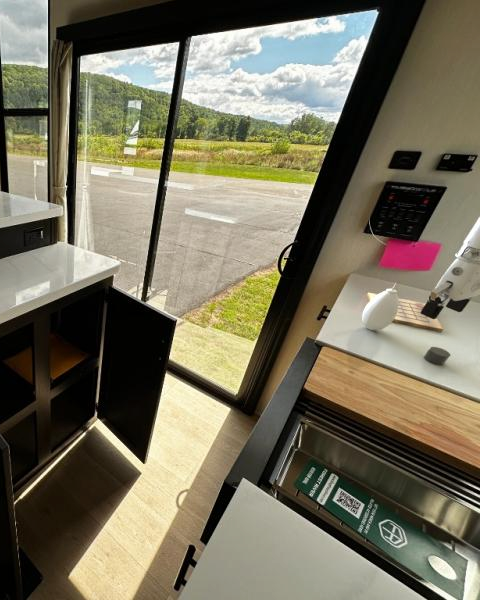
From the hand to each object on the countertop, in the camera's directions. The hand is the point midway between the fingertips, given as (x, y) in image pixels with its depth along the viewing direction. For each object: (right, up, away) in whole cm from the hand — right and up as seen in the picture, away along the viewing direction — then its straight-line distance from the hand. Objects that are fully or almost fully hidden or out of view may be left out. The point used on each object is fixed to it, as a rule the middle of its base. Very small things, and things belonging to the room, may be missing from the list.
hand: (440, 312), depth 85 cm
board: (+22, -1, +32) cm, 39 cm away
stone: (+10, -15, +11) cm, 21 cm away
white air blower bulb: (+4, -7, +25) cm, 26 cm away
